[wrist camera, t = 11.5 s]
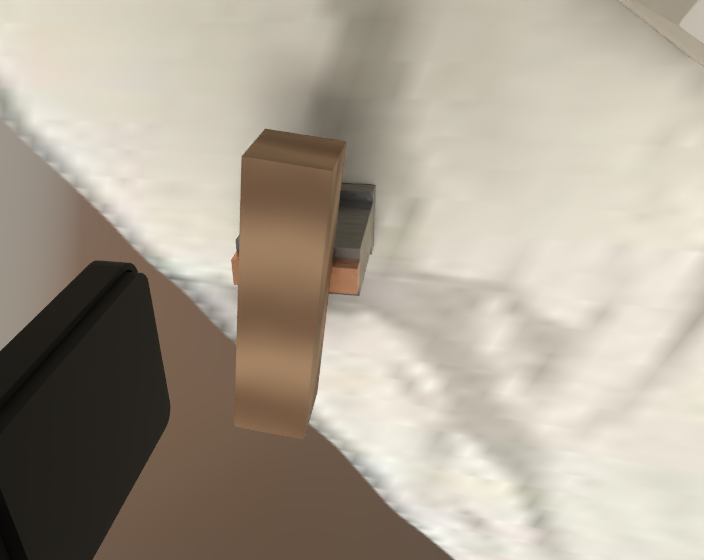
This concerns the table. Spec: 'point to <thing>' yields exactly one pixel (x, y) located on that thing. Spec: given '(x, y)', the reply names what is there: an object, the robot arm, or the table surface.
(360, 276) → the ridge stand
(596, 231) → the table surface
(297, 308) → the walnut rod
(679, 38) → the milk carton
